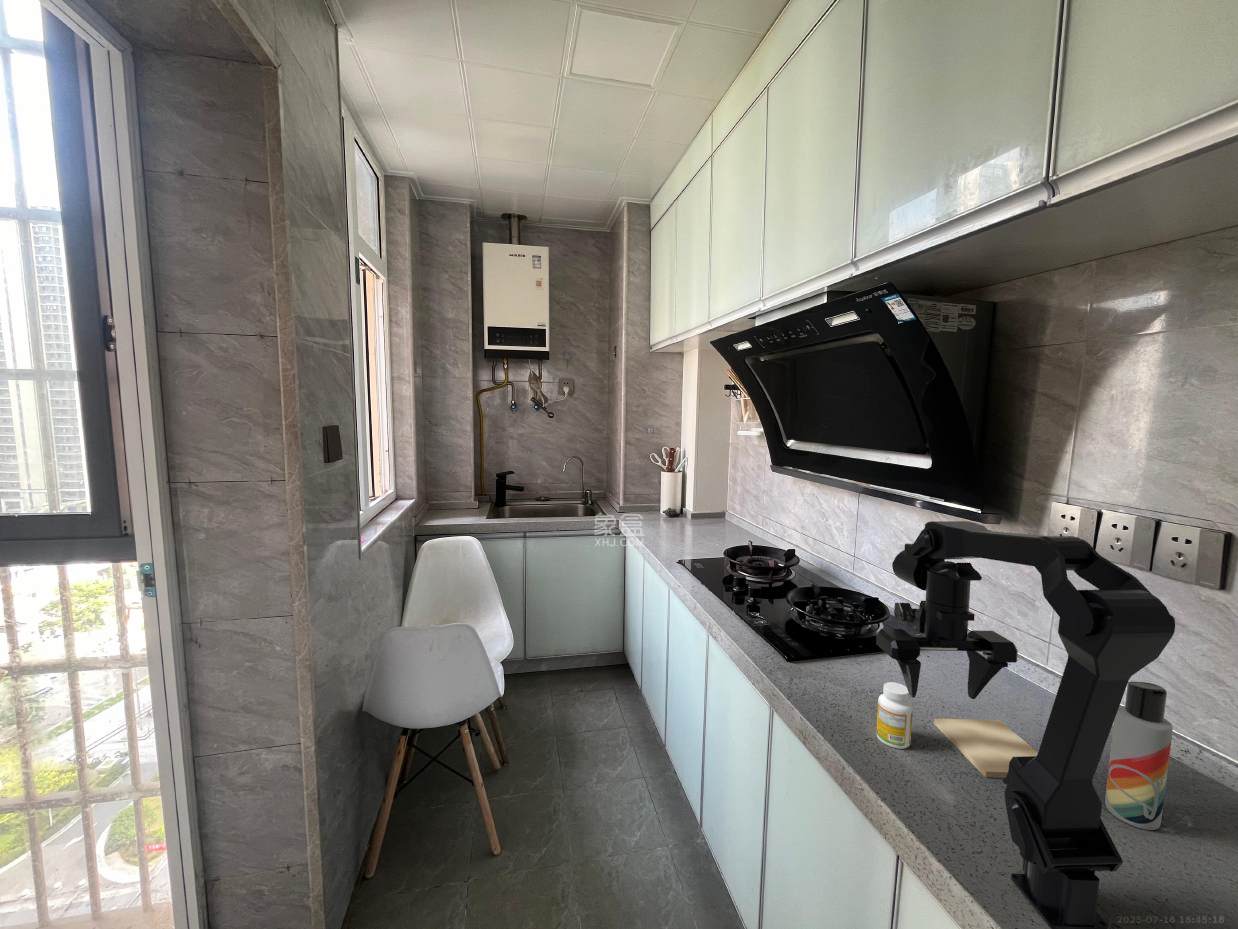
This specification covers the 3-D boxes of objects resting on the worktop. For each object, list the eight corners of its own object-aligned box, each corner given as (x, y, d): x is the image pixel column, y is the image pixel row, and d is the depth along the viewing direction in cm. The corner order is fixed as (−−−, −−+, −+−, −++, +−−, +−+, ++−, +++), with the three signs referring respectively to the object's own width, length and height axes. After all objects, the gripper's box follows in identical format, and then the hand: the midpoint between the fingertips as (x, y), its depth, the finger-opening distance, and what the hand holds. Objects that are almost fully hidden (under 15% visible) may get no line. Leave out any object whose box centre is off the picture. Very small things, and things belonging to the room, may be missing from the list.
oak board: (1062, 779, 80) (1063, 773, 80) (985, 777, 80) (986, 771, 80) (999, 725, 94) (999, 720, 94) (933, 723, 94) (934, 718, 94)
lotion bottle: (1130, 830, 70) (1146, 694, 68) (1093, 799, 76) (1107, 673, 74) (1172, 832, 70) (1190, 696, 68) (1133, 801, 76) (1148, 674, 74)
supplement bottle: (891, 727, 93) (894, 677, 92) (917, 745, 88) (921, 692, 87) (869, 734, 91) (872, 683, 90) (895, 752, 86) (898, 699, 85)
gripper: (974, 585, 86) (968, 673, 87) (863, 583, 87) (859, 671, 88) (1023, 609, 75) (1016, 709, 76) (896, 607, 76) (891, 706, 77)
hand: (941, 697), depth 80 cm, fingers open, 9 cm apart
